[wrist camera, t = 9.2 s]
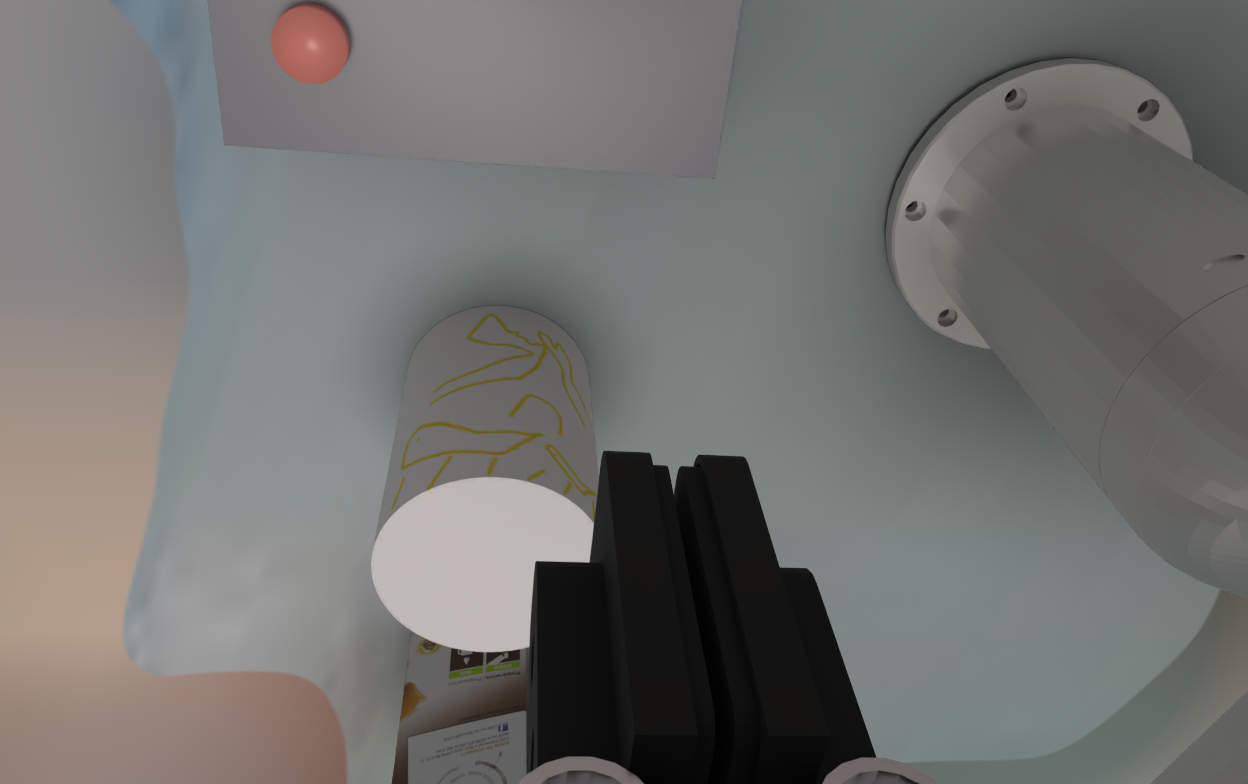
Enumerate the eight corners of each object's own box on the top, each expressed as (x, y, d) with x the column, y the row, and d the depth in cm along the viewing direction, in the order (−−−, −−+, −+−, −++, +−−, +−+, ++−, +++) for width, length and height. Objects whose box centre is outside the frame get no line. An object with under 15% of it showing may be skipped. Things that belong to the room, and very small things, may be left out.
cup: (609, 326, 43) (635, 499, 33) (564, 471, 47) (575, 665, 37) (423, 288, 42) (390, 457, 32) (393, 442, 46) (356, 636, 36)
